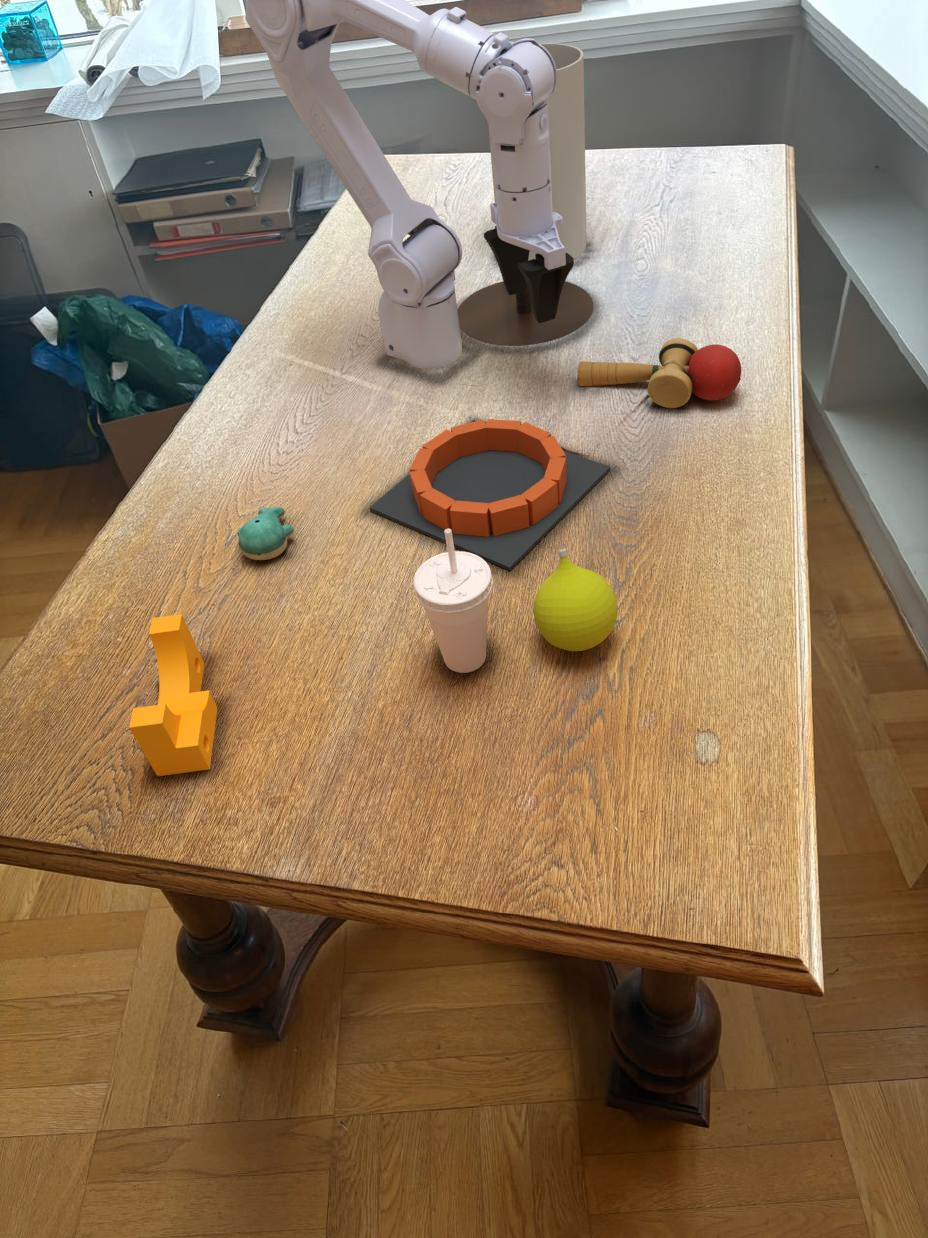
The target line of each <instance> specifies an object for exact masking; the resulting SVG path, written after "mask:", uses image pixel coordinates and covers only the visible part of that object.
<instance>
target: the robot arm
mask: <svg viewBox="0 0 928 1238" xmlns="http://www.w3.org/2000/svg"><path fill="white" fill-rule="evenodd" d="M244 18H245V21H246V23H247V24H248V25H249V27H250V28H251V31H252V32H253V34H254V35H255V37H256V38H257V40H258V41H259V43H260V45H261V46H262V48H263V49H264V51H265V52H266V55H267V58H268V61H269V64H270V66H271V69H272V70H271V71H272V72H273V75H274V78H275V79H276V81H277V83H278V85H279V86H280V88H281V89H282V92H283V93H284V94H285V96H286V97H287V99H288V100H289V102H290V104H291V105H292V107H293V109H294V110H295V112H296V113H297V115H298V116H299V118H300V120H301V121H302V123H303V124H304V126H305V127H306V128H307V130H308V131H309V133H310V135H311V136H312V138H313V139H314V141H315V143H316V144H317V146H318V147H319V149H320V150H321V152H322V153H323V155H324V156H325V158H326V160H327V161H328V162H329V164H330V166H331V167H332V170H333V171H334V172H335V174H336V175H337V177H338V179H339V180H340V181H341V183H342V184H343V186H344V188H345V189H346V191H347V192H348V194H349V195H350V197H351V198H352V201H354V203H355V204H356V206H357V207H358V209H359V211H360V213H361V214H362V215H363V217H364V219H365V221H366V222H367V223H368V225H369V227H370V229H371V230H370V237H369V243H368V248H367V256H368V258H370V260H371V262H372V263H373V265H374V267H375V271H376V274H377V279H378V281H379V284H380V287H381V288H382V289H383V292H382V294H381V296H380V298H379V301H378V311H377V312H378V319H379V325H380V329H381V335H382V340H383V341H382V342H383V345H384V351H385V355H387V356H390V357H393V358H396V359H398V360H401V361H404V362H406V363H407V364H408V365H410V366H411V367H413V368H414V367H415V368H417V369H423V370H429V369H430V370H434V369H439V368H443V367H447V366H449V365H452V364H453V363H455V362H457V360H458V359H459V358H460V357H461V356H462V354H463V344H462V336H461V329H460V327H459V319H458V303H457V295H456V288H455V281H456V273H455V271H456V269H457V268H458V267H459V266H460V264H461V262H462V259H463V248H462V246H463V245H462V243H461V241H460V237H458V234H457V232H455V231H454V229H453V228H452V227H451V226H449V225H448V224H447V223H445V222H444V221H443V220H442V219H441V218H440V217H439V216H438V214H437V213H436V211H435V210H434V208H433V207H432V206H430V205H428V204H426V203H422V202H420V201H416V200H414V199H412V198H411V197H410V194H409V192H407V190H406V188H405V187H404V185H403V183H402V181H400V178H399V177H398V176H397V173H396V172H395V170H394V169H393V167H392V165H391V164H390V163H389V162H390V161H388V159H387V158H386V156H385V154H384V153H383V151H382V149H381V148H380V146H379V145H378V143H377V141H376V140H375V138H374V136H373V135H372V133H371V132H370V130H369V128H368V127H367V125H366V124H365V122H364V120H363V119H362V117H361V116H360V114H359V112H358V110H357V109H356V108H355V106H354V104H353V102H352V101H351V99H350V98H349V96H348V94H347V92H346V91H345V89H344V88H343V86H342V85H341V83H340V81H339V79H338V78H337V76H336V75H335V73H334V72H333V70H332V69H331V66H330V58H331V49H332V44H333V41H334V39H335V36H336V33H337V31H338V29H339V26H340V24H343V23H347V24H349V25H352V26H354V27H356V28H359V29H361V30H363V31H365V32H368V33H370V34H372V35H375V36H376V37H379V38H381V39H383V40H385V41H388V42H390V43H393V44H394V45H397V46H399V47H401V48H404V49H406V50H408V51H409V52H410V51H411V52H413V53H414V54H415V57H416V60H417V61H416V62H417V64H418V66H419V69H420V71H422V72H423V73H425V74H427V75H428V76H430V77H433V78H434V79H436V80H437V81H439V82H441V83H444V84H445V85H447V86H449V87H451V88H453V89H454V90H457V91H459V92H460V93H462V94H464V95H466V96H468V97H470V98H472V99H474V100H476V103H477V106H478V108H479V110H480V113H481V114H482V115H483V117H484V118H485V119H486V121H487V125H488V124H489V128H488V131H489V130H490V137H491V138H492V150H493V162H494V174H495V187H496V198H497V202H495V201H494V202H492V203H490V204H489V207H490V218H491V222H492V223H493V224H495V225H494V228H493V229H488V230H486V231H485V232H484V233H483V239H484V240H485V241H486V243H487V244H488V246H489V248H490V249H491V251H492V254H493V256H494V258H495V260H496V263H497V265H498V269H499V272H500V275H501V278H502V282H504V285H505V288H506V290H507V293H508V294H509V295H513V294H517V293H520V292H523V291H526V288H527V286H528V289H529V292H530V296H531V302H532V308H533V313H534V316H535V319H536V321H537V322H538V323H543V322H546V321H549V320H552V319H555V317H556V313H557V309H558V304H559V299H560V295H561V291H562V288H563V285H564V283H565V281H566V280H567V278H568V276H569V274H570V272H571V270H572V269H573V267H574V265H575V260H574V258H573V257H572V256H571V255H569V254H568V253H565V247H564V246H563V245H562V243H561V242H560V239H559V235H558V232H557V228H556V226H559V225H561V224H563V217H562V216H561V215H559V214H558V213H556V212H552V188H551V163H550V139H549V120H548V104H547V103H546V104H545V105H544V106H542V107H540V106H541V105H542V104H544V103H545V102H546V101H547V100H548V98H549V97H550V96H551V95H552V93H553V91H554V89H555V87H556V82H557V70H556V65H555V62H554V60H553V58H552V56H551V54H550V53H549V52H548V51H547V49H545V48H544V47H543V46H542V45H540V44H541V43H539V42H538V41H537V40H536V39H534V38H529V37H528V38H527V37H526V38H521V39H518V40H516V41H510V37H509V36H508V35H507V34H505V33H503V32H501V31H500V32H499V33H497V34H496V33H495V32H493V31H490V30H489V29H487V28H485V27H483V26H481V25H479V24H477V23H476V22H473V21H471V20H469V19H467V11H466V10H463V9H462V8H459V7H458V6H454V7H453V8H451V9H448V8H441V9H438V10H436V11H435V12H433V13H432V14H431V15H430V14H428V13H426V12H425V11H423V10H422V9H420V8H418V7H417V6H415V5H413V4H412V3H410V2H408V1H407V0H245V17H244ZM406 236H408V237H407V238H405V237H406ZM404 238H405V240H404ZM530 251H533V252H535V253H537V254H535V258H536V259H532V260H529V261H528V259H529V252H530Z"/></svg>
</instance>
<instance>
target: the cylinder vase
mask: <svg viewBox="0 0 928 1238" xmlns="http://www.w3.org/2000/svg"><path fill="white" fill-rule="evenodd" d="M539 44H540V45H542V46H543V47H544V48H545V49H547V51H548V52H549V53H550V54H551V56H552V58H553V60H554V62H555V65H556V70H557V82H556V87H555V89H554V91H553V93H552V95H551V96H550V97H549V98H548V100H547V101H546V102H545V103H544V104H542V105H541V106H540V107H542V106H544V105H545V104H546V103H547V104H548V120H549V139H550V163H551V188H552V212H556V213H558V214H559V215H561V216H562V217H563V224H561V225H559V226H556V228H557V232H558V235H559V239H560V242H561V243H562V245H563V246H564V247H565V253H568V254H569V255H571V256H572V257H573V258H574V261H575V260H576V259H578V258H579V257H581V256H582V255H583V254H584V253H585V252H586V249H587V243H588V241H587V239H588V237H587V186H586V185H587V184H586V183H587V182H586V179H587V177H586V128H585V127H586V125H585V124H586V123H585V122H586V121H585V120H586V119H585V66H584V63H585V62H584V57H585V55H584V51H583V50H582V49H581V48H580V47H577V46H575V45H571V44H566V43H557V42H556V43H555V42H548V43H547V42H546V43H539ZM487 126H488V127H487V128H488V137H489V139H488V141H489V149H490V151H489V152H490V161H491V163H490V164H491V173H492V174H491V175H492V185H493V197H494V198H493V199H494V203H495V202H497V198H496V187H495V174H494V162H493V150H492V138H491V137H490V130H489V124H488V123H487ZM535 254H537V253H535V252H533V251H530V252H529V259H528V261H529V260H532V259H536V258H535Z"/></svg>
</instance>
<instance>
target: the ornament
mask: <svg viewBox="0 0 928 1238" xmlns="http://www.w3.org/2000/svg"><path fill="white" fill-rule="evenodd" d="M558 539H559V542H560V545H561V548H560V549H559V550H558V555H559V564H558V567H557V568H556V569H555V571H554V572H552V573H551V574H550V575H549V576H548V577H547V578H546V579H545V580H544V581H543V582H542V583H541V584H540V587H539V588H538V590H537V592H536V593H535V597H534V601H533V610H532V612H533V618H534V623H535V625H536V627H537V629H538V631H539V633H540V634H541V635H542V637H544V639H545V640H546V641H547V642H548V643H549V644H550V645H552V646H554V647H556V648H558V649H561V650H564V651H569V652H581V651H587V650H590V649H593V648H594V647H597V646H599V645H600V644H602V642H604V640H607V637H608V636H609V635H610V634H611V632H612V631H613V629H614V627H615V624H616V622H617V618H618V601H617V598H616V595H615V592H614V590H613V588H612V586H611V585H610V584H609V582H608V581H607V580H606V579H605V578H604V577H603V576H602V575H601V574H599V573H597V572H595V571H592V570H590V569H588V568H584V567H581V566H579V565H576V564H574V563H573V561H571V560H570V558H569V557H568V553H567V552H568V551H567V549H566V548H563V543H562V540H561V536H558Z"/></svg>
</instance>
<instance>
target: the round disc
mask: <svg viewBox="0 0 928 1238" xmlns="http://www.w3.org/2000/svg"><path fill="white" fill-rule="evenodd" d="M594 309H595V305H594V299H593V298H592V296H591V295H590V293H588V291H586V290H585V289H584V288H582V287H581V286H579V285H577V284H574V283H572V282H570V281H566V280H565V283H564V285H563V288H562V291H561V295H560V299H559V304H558V309H557V313H556V317H555V319H552V320H549V321H546V322H543V323H538V322H537V321H536V319H535V316H534V313H533V308H532V302H531V296H530V292H529V289H528V286H527V288H526V291H523V292H520V293H517V294H513V295H509V294H508V293H507V290H506V288H505V285H504V282H503V281H499V282H496V283H493V284H490V285H487V286H485V287H483V288H480V289H479V290H477V291H475V292H473V293H472V294H470V295H468V297H466V298H465V299H464V300H463V301H462V302H461V303H460V305H459V306H458V307H457V310H458V319H459V327H460V331H461V332H462V333H464V334H465V335H466V336H468V337H470V338H471V339H474V340H476V341H479V342H482V343H485V344H488V345H495V346H503V347H525V346H534V345H540V344H545V343H549V342H553V341H556V340H558V339H562V338H564V337H566V336H568V335H571V334H572V333H574V332H576V331H578V330H579V329H581V328H582V327H583V326H584V325H585V324H586V323H587V322H588V321H589V320H590V318H591V317H592V316H593V314H594Z"/></svg>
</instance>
